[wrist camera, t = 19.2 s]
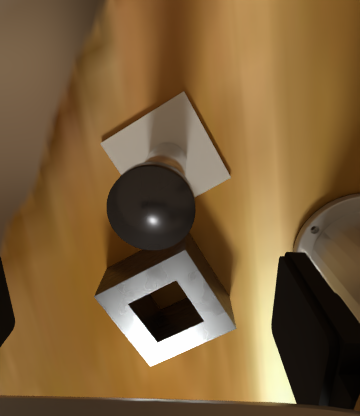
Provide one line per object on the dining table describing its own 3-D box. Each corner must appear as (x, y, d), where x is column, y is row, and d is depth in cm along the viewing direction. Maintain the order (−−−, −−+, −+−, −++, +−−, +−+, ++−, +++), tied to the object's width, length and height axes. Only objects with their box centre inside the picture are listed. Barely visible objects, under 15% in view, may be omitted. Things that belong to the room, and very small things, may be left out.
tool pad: (183, 91, 28) (183, 91, 27) (230, 176, 30) (230, 177, 30) (101, 142, 29) (100, 143, 29) (152, 218, 32) (151, 220, 32)
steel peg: (140, 135, 29) (102, 166, 16) (193, 135, 29) (195, 167, 16) (143, 185, 30) (110, 249, 18) (192, 186, 30) (194, 251, 18)
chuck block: (185, 226, 32) (185, 249, 28) (229, 297, 35) (236, 328, 31) (106, 268, 34) (94, 296, 30) (154, 331, 37) (150, 366, 32)
